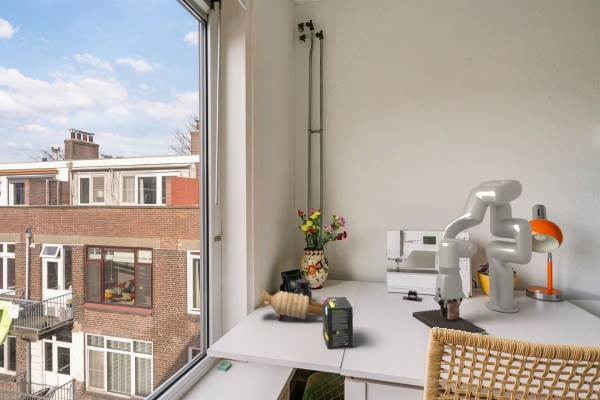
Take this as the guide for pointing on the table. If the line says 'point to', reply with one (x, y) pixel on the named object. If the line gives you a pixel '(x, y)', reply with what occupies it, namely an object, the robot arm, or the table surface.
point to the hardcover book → (446, 322)
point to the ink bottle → (303, 288)
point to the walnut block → (452, 309)
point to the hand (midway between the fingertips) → (449, 314)
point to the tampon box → (337, 323)
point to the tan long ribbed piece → (291, 304)
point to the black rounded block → (412, 297)
